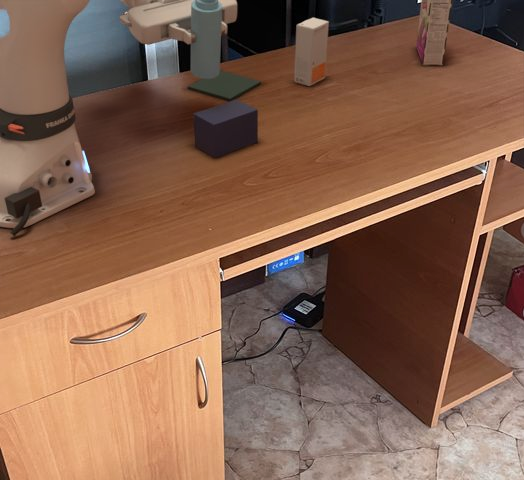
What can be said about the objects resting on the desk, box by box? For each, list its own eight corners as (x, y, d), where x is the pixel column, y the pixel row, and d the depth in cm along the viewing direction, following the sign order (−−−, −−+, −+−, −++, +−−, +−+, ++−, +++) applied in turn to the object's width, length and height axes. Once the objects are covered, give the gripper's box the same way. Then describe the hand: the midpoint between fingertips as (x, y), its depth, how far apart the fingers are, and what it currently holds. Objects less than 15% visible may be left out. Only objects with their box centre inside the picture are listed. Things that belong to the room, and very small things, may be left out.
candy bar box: (414, 48, 183) (423, -28, 172) (435, 48, 183) (446, -28, 172) (420, 66, 174) (431, -13, 164) (443, 66, 174) (455, -12, 164)
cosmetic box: (310, 87, 165) (312, 28, 157) (293, 82, 167) (295, 24, 159) (326, 78, 168) (329, 20, 161) (309, 73, 170) (312, 16, 163)
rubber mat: (230, 101, 159) (230, 98, 159) (187, 88, 164) (187, 86, 163) (260, 84, 166) (261, 81, 166) (219, 72, 171) (219, 69, 170)
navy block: (194, 146, 143) (193, 113, 139) (237, 131, 148) (236, 99, 144) (214, 158, 140) (213, 124, 136) (257, 142, 145) (257, 109, 141)
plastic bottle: (192, 88, 141) (161, 9, 139) (216, 81, 143) (185, 3, 141) (228, 59, 128) (194, -29, 126) (253, 51, 131) (220, -35, 128)
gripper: (113, -3, 135) (156, 30, 128) (211, -25, 144) (256, 4, 137) (115, 33, 139) (157, 66, 132) (210, 9, 149) (254, 39, 142)
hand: (208, 34), depth 135 cm, fingers closed on plastic bottle, 5 cm apart
